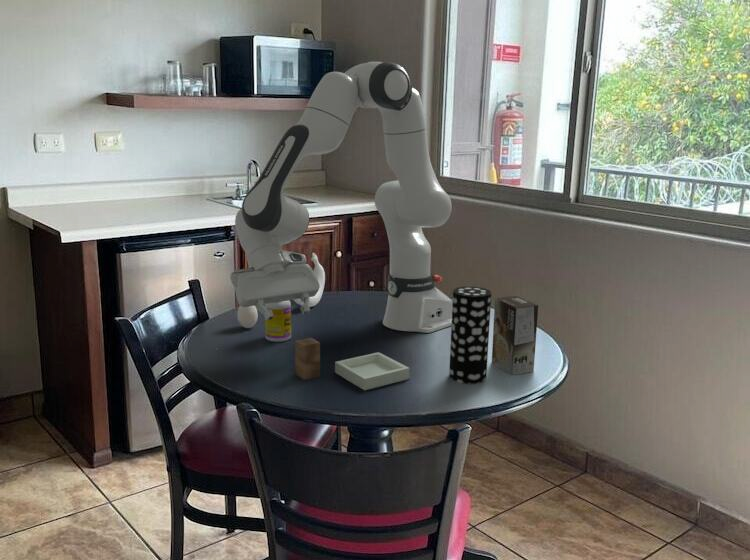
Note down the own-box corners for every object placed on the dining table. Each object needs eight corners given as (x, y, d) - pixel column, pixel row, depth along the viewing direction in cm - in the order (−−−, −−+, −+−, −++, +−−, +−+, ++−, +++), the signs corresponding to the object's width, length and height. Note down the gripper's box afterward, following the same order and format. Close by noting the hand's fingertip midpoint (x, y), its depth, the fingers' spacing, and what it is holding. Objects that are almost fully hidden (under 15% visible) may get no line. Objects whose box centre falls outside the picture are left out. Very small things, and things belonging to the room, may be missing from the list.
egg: (239, 324, 196) (238, 297, 194) (259, 324, 196) (258, 297, 194) (236, 331, 191) (235, 303, 189) (256, 331, 191) (256, 303, 189)
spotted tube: (476, 386, 157) (481, 298, 152) (442, 378, 161) (446, 292, 156) (492, 375, 163) (497, 290, 158) (458, 367, 168) (463, 284, 163)
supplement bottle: (286, 343, 182) (285, 294, 178) (261, 341, 183) (260, 292, 180) (294, 335, 188) (294, 288, 185) (270, 333, 189) (269, 286, 186)
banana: (291, 313, 207) (291, 264, 203) (313, 296, 225) (312, 250, 221) (307, 315, 206) (307, 265, 202) (328, 297, 223) (328, 251, 220)
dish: (378, 362, 170) (378, 352, 169) (409, 378, 160) (409, 368, 160) (335, 372, 163) (335, 361, 162) (364, 390, 154) (364, 379, 153)
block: (311, 370, 164) (310, 337, 162) (319, 376, 161) (319, 342, 159) (295, 374, 162) (295, 340, 160) (304, 380, 159) (304, 345, 157)
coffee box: (535, 371, 166) (540, 305, 162) (512, 375, 163) (516, 308, 159) (512, 358, 174) (516, 295, 170) (489, 362, 171) (493, 297, 167)
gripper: (231, 263, 163) (250, 315, 157) (310, 254, 174) (331, 302, 168) (224, 278, 167) (242, 329, 162) (301, 268, 178) (321, 315, 173)
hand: (288, 315), depth 165 cm, fingers open, 8 cm apart
